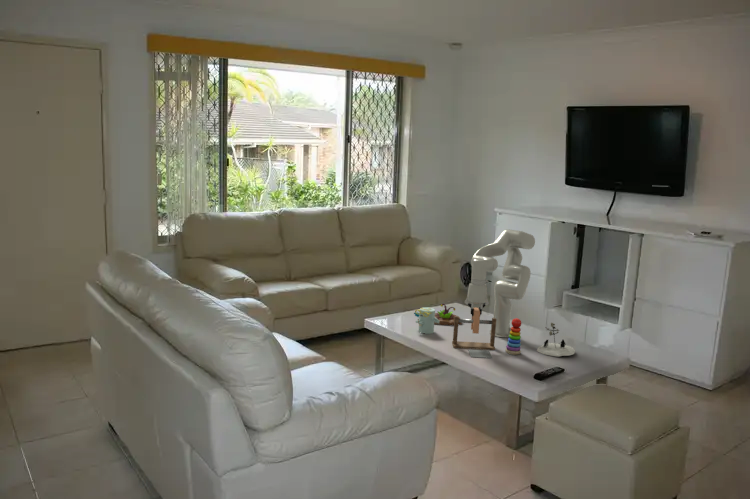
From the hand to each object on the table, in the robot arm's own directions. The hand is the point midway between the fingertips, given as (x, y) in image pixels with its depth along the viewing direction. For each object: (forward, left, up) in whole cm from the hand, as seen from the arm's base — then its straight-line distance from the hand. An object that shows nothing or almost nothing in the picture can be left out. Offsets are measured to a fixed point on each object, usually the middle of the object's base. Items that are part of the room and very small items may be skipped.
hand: (475, 315), depth 339 cm
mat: (-2, +12, -17) cm, 21 cm away
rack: (0, 0, -17) cm, 17 cm away
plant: (+12, -47, -18) cm, 52 cm away
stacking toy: (-20, +7, -18) cm, 27 cm away
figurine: (-44, +2, -18) cm, 47 cm away
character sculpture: (+25, -22, -18) cm, 38 cm away
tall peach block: (0, 0, -9) cm, 9 cm away
